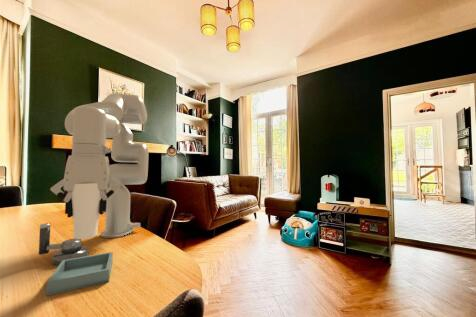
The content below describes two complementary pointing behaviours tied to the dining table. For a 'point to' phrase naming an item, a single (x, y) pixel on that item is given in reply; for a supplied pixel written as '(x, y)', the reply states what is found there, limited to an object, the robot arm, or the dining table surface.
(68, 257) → the crank stand
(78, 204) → the drinking glass
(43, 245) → the crank
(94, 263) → the tray
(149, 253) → the dining table surface
